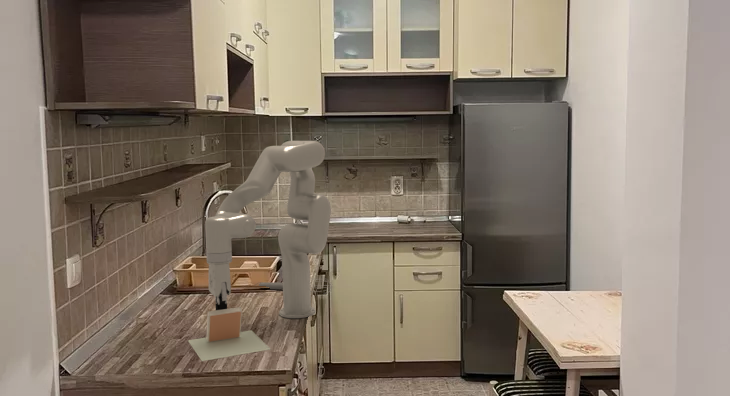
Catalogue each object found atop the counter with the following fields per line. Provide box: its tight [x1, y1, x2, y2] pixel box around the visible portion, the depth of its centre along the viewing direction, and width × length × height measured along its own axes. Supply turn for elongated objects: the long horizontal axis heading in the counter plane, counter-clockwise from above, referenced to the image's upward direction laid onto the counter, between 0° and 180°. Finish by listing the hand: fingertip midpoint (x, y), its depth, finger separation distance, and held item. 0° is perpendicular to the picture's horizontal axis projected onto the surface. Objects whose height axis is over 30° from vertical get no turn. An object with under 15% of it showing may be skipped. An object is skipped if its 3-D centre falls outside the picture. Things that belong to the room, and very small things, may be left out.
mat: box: [187, 329, 271, 362], centre depth 196 cm, size 20×20×1 cm
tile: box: [205, 306, 243, 342], centre depth 199 cm, size 2×10×10 cm, turn 116°
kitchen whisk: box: [256, 277, 333, 295], centre depth 259 cm, size 6×34×6 cm, turn 69°
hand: (221, 316), depth 201 cm, fingers closed
